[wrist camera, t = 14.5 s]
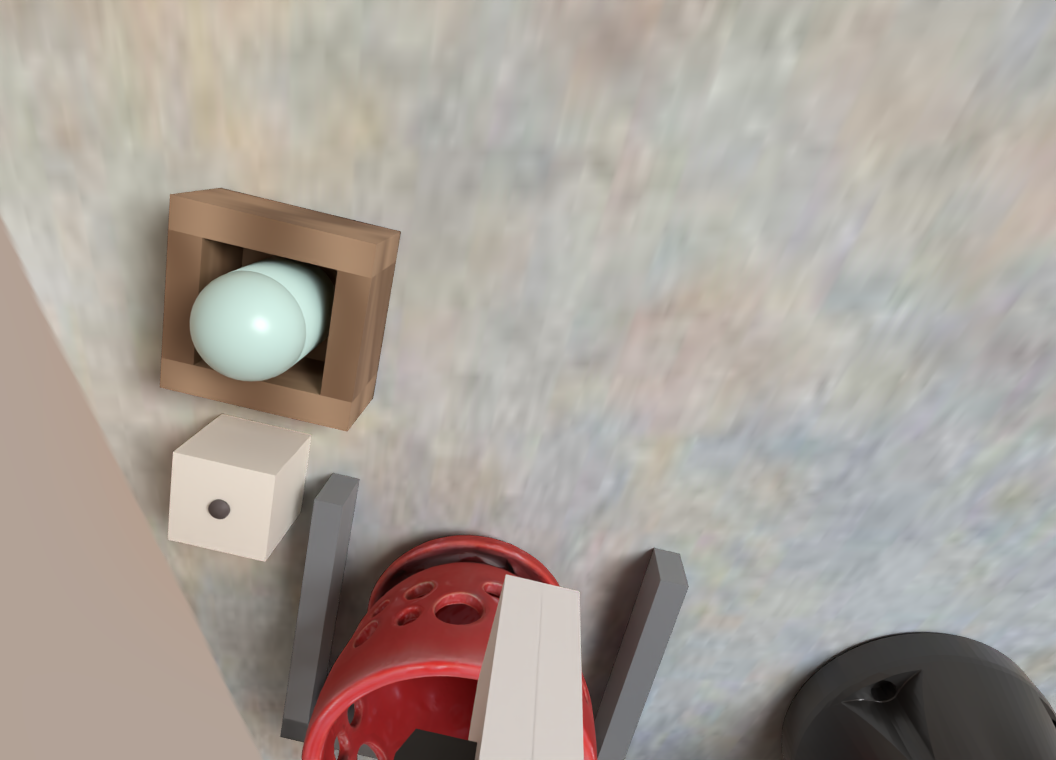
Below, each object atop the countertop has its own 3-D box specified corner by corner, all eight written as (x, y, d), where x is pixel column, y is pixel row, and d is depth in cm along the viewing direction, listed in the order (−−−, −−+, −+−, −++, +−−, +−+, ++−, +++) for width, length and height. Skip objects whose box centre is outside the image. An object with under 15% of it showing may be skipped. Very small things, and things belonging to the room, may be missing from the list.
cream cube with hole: (312, 434, 38) (273, 477, 33) (301, 511, 39) (263, 564, 34) (222, 413, 38) (170, 453, 33) (215, 491, 39) (165, 541, 34)
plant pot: (418, 714, 44) (365, 915, 32) (336, 543, 40) (244, 702, 28) (616, 670, 42) (634, 867, 30) (550, 485, 38) (543, 632, 26)
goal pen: (679, 554, 39) (688, 586, 36) (603, 767, 44) (605, 809, 41) (333, 472, 38) (314, 499, 35) (299, 698, 44) (280, 736, 41)
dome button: (345, 267, 33) (290, 297, 27) (332, 359, 35) (277, 409, 28) (247, 243, 33) (169, 268, 26) (239, 337, 35) (163, 382, 28)
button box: (400, 231, 34) (376, 244, 29) (373, 397, 37) (347, 431, 32) (220, 187, 33) (169, 194, 29) (207, 358, 36) (159, 387, 32)
